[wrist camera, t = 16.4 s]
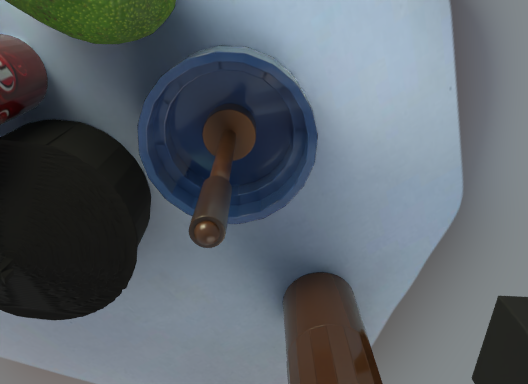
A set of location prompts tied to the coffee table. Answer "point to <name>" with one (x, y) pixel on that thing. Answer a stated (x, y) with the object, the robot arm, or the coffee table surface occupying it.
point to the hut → (67, 219)
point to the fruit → (100, 17)
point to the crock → (326, 333)
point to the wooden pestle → (221, 170)
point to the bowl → (196, 113)
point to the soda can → (19, 78)
